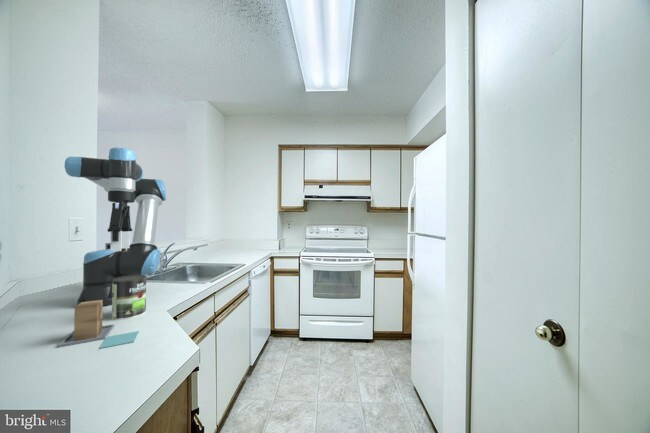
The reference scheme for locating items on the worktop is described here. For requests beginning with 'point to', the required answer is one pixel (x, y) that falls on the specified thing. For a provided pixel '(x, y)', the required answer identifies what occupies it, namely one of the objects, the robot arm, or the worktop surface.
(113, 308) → the coffee can
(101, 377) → the worktop surface
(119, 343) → the teal pad
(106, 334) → the gray tray
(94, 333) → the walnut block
